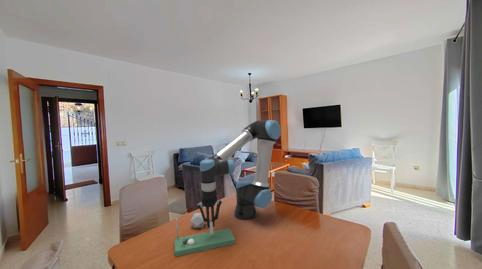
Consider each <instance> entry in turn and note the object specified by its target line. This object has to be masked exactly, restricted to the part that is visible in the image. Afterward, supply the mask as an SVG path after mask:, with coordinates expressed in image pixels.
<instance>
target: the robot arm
mask: <svg viewBox="0 0 482 269" xmlns="http://www.w3.org/2000/svg"><path fill="white" fill-rule="evenodd" d="M281 135H282V127H281V125H280V123H279V122H278V121H277V120H273V119H272V120H271V119H268V120H267V119H264V120H255V121H253V122H252V123H249V124H248V125H247V126H246V127H244V128H243V129H242V130H241V133H239V134H237V136H235V138H233V139H232V140H231V141H230V142H228V143H227V144H226V145H225V146H223V147H222V148H221V149H220V150H218V151H217V152H216V153H215V154H213V155H212V156H208V157H206V158H205V159H203V160H201V161H200V162H199V172H200V188H201V199H200V202H199V203H197V204H196V205H197V206H196V207H197V208H198V209H199V211H200V213H201V214H202V217H203V220H204V222H205V223H206V226H207V228H208V229H209V230H208V232H210V234H213V231H214V228H215V225H216V224H215V222H216V220H218V219H219V213H220V208H221V205H222V203H223V202H222V200H221V199H218V197H217V189H216V188H217V186H216V184H217V183H216V178H217V177H220V176H224V175H225V176H226V175H229V174H230V175H231V174H233V173H234V172H235V170H236V164H235V162H234V161H233V160H232V159H230V158H231V157H232V156H233V155H235V154H236V153H237V152H238V151H240V150H241V149H242V148H243V147H244V146H245V145H246V144H248V143H249V142H252V141H254V140H255V139H257V142H258V143H259V144H258V145H259V146H258V151H257V156H256V157H257V158H256V164H255V171H254V172H255V173H254V177H253V180H252V179H249V180H248V179H247V180H245V179H244V180H241V181H237V183H235V192H236V193H235V195H236V197H235V198H236V205H235V208H234V210H233V211H234V212H233V214H234V218H236V219H238V220H252V219H254V218H256V217H257V215H258V214H257V209H256V207H257V208H259V209H265V208H267V207H268V206H269V205H270V204H271V202H272V199H273V193H272V191H271V190H270V184H269V182H268V181H269V176H270V169H271V161H272V156H273V155H272V153H273V147H274V145H275V144H276V143H277V140H278V139H279V138H280V137H281ZM203 206H204V207H205V212H204V210H203ZM215 206H216V207H215ZM205 213H206V215H205ZM210 214H211V219H210ZM205 216H206V217H205Z"/></svg>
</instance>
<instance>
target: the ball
mask: <svg viewBox="0 0 482 269" xmlns="http://www.w3.org/2000/svg"><path fill="white" fill-rule="evenodd" d="M193 243H195V241H194V239H189V240H188V241H187V244H186V246H188V245H192V244H193Z"/></svg>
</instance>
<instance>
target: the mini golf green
mask: <svg viewBox="0 0 482 269" xmlns="http://www.w3.org/2000/svg"><path fill="white" fill-rule="evenodd" d="M175 230H176V231H175V232H176V238H174V257H175V258H176V257H180V256H186V255H191V254H193V253H195V254H196V253H199V252H204V251H208V250H213V249H217V248H223V247H227V246H231V245H235V244H236V238H235V237H234V236H235V235H233V232H232V230H231V228H230V227H227V228H224V229H217V230H213V234H210V231H208V232H201V233H196V234H191V235H188V236H187V235H186V236H181V237H179V225H178V217H175ZM189 239H194V241H195V243H193V244H192V245H188V246H187V241H188V240H189Z"/></svg>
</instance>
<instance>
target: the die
mask: <svg viewBox="0 0 482 269" xmlns="http://www.w3.org/2000/svg"><path fill="white" fill-rule="evenodd" d="M190 223H191V225H192V227H193V229H203V228H204V225H205V223H206V222H204V220H203V217H202V214H201V212H194V213H193V215H192V217H191V219H190Z"/></svg>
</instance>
